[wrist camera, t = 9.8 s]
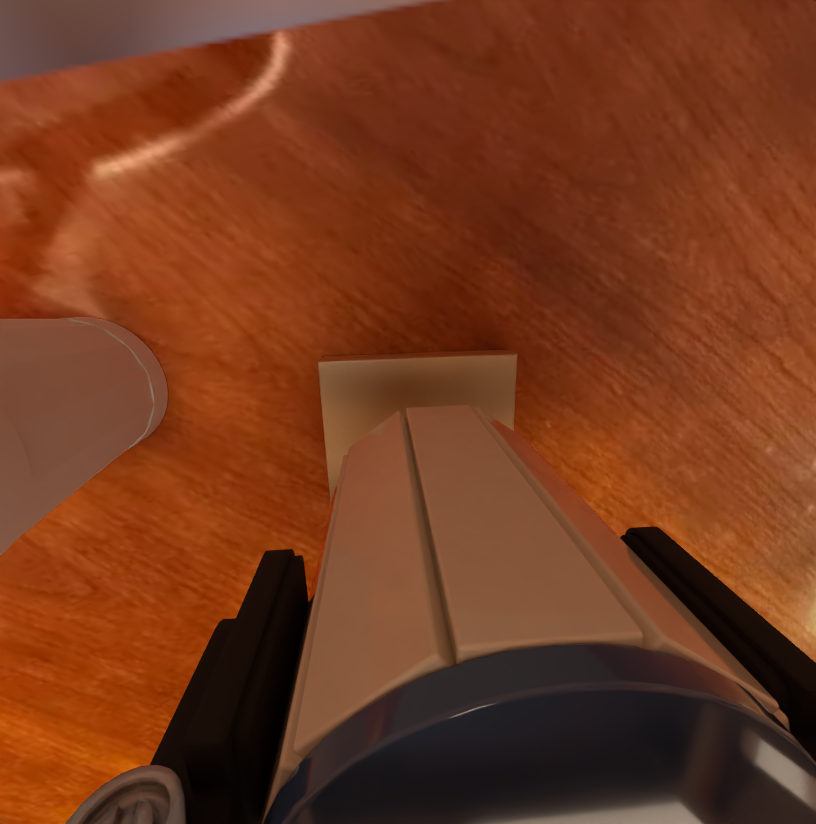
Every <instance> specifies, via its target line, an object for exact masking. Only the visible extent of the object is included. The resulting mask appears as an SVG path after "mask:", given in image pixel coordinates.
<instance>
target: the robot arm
mask: <svg viewBox="0 0 816 824" xmlns="http://www.w3.org/2000/svg"><path fill="white" fill-rule="evenodd" d="M620 538H621V539H622V540H623V542H624V543H625V544H626V545H627V546H628V547H629V548H630V549H631V550H632V551H633V552H634V553H635V554H636V555H637V556H638V557H639V558H640V559H641V560H642V561H643V562H644V563H645V564H646V566H647V567H648V568H649V569H650V570H651V571H652V572H653V573H654V574H655V575H656V576H657V577H658V578H659V579H660V580H661V581H662V582H663V583H664V584H665V585H666V586H667V587H668V588H669V590H670V591H671V592H672V593H673V594H674V595H675V596H676V597H677V598H678V599H679V600H680V601H681V602H682V603H683V604H684V605H685V606H686V607H687V608H688V609H689V610H690V611H691V612H692V614H693V615H694V616H695V617H696V618H697V619H698V620H699V621H700V622H701V623H702V624H703V625H704V626H705V627H706V628H707V629H708V630H709V631H710V632H711V633H712V634H713V635H714V636H715V637H716V639H717V640H718V641H719V642H720V643H721V644H722V645H723V646H724V647H725V648H726V649H727V650H728V651H729V652H730V653H731V654H732V655H733V656H734V657H735V658H736V659H737V660H738V661H739V663H740V664H741V665H742V666H743V667H744V668H745V669H746V670H747V671H748V672H749V673H750V674H751V675H752V676H753V677H754V678H755V679H756V680H757V681H758V682H759V683H760V684H761V685H762V687H763V688H764V689H765V690H766V691H767V692H768V693H769V694H770V695H771V696H772V697H773V698H774V699H775V700H776V701H777V703H778V705H779V709H780V710H781V711H782V712H783V713H784V714H785V715H786V717H787V718H788V720H789V726H790V732H791V734H792V735H793V736H794V737H795V738H796V739H797V740H798V741H799V742H800V743H801V745H802V746H803V747H804V748H805V749H806V750H807V751H808V752H809V753H810V755H811V756H812V757H813V758H814V759H815V761H816V663H815V662H814V661H813V660H812V659H810V658H809V657H808V656H807V655H806V654H805V653H803V652H802V651H801V650H800V649H799V648H798V647H796V646H795V645H794V644H793V643H792V642H791V641H790V640H788V639H787V638H786V637H785V636H784V635H783V634H781V633H780V632H779V631H778V630H777V629H776V628H774V627H773V626H772V625H771V624H770V623H769V622H767V621H766V620H765V619H764V618H763V617H762V616H761V615H759V614H758V613H757V612H756V611H755V610H754V609H752V608H751V607H750V606H749V605H748V604H747V603H745V602H744V601H743V600H742V599H741V598H740V597H739V596H737V595H736V594H735V593H734V592H733V591H732V590H730V589H729V588H728V587H727V586H726V585H725V584H723V583H722V582H721V581H720V580H719V579H718V578H716V577H715V576H714V575H713V574H712V573H711V572H710V571H708V570H707V569H706V568H705V567H704V566H703V565H701V564H700V563H699V562H698V561H697V560H696V559H694V558H693V557H692V556H691V555H690V554H689V553H687V552H686V551H685V550H684V549H683V548H682V547H681V546H679V545H678V544H677V543H676V542H675V541H674V540H672V539H671V538H670V537H669V536H668V535H667V534H665V533H664V532H663V531H662V530H661V529H659V528H658V527H638V528H630V529H628V530H627V531H626V534H625V535H622V536H621V537H620ZM307 607H308V594H307V586H306V577H305V569H304V561H303V557H302V555H301V556H295V555H294V551H293V550H292V549H286V550H270V551H266V552H265V553H264V555H263V557H262V559H261V562H260V564H259V566H258V569H257V571H256V573H255V576H254V578H253V580H252V583H251V585H250V587H249V589H248V592H247V594H246V596H245V599H244V601H243V603H242V606H241V608H240V610H239V613H238V615H237V617H236V618H235V619H223V620H222V621H220V622H219V624H218V625H217V627H216V628H215V630H214V632H213V635H212V637H211V639H210V641H209V643H208V645H207V647H206V649H205V651H204V653H203V655H202V657H201V660H200V662H199V664H198V666H197V668H196V670H195V672H194V674H193V676H192V678H191V680H190V682H189V685H188V687H187V689H186V691H185V693H184V695H183V697H182V699H181V701H180V703H179V705H178V707H177V710H176V712H175V714H174V716H173V718H172V720H171V722H170V724H169V726H168V728H167V730H166V732H165V735H164V737H163V739H162V741H161V743H160V745H159V747H158V749H157V751H156V753H155V755H154V757H153V759H152V762H151V764H150V765H149V766H140V767H137V768H135V769H132V770H129V771H127V772H124V773H122V774H120V775H118V776H117V777H115V778H114V779H112V780H110V781H109V782H107V783H106V784H104V785H102V786H101V787H100V788H99V789H98V790H97V791H95V792H94V793H93V794H92V795H91V796H90V797H89V798H87V799H86V800H85V801H84V802H83V803H82V804H81V805H80V807H79V808H78V809H77V810H76V811H75V813H74V814H73V815H72V816H71V817H70V818H69V820H68V821H67V822H66V823H65V824H259V820H260V815H261V811H262V807H263V802H264V798H265V794H266V789H267V785H268V780H269V776H270V771H271V767H272V762H273V758H274V754H275V749H276V745H277V740H278V736H279V731H280V727H281V722H282V718H283V713H284V709H285V705H286V700H287V696H288V691H289V687H290V682H291V678H292V673H293V669H294V665H295V660H296V656H297V651H298V647H299V642H300V638H301V633H302V629H303V625H304V620H305V616H306V611H307Z"/></svg>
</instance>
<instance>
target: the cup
mask: <svg viewBox="0 0 816 824" xmlns="http://www.w3.org/2000/svg"><path fill="white" fill-rule="evenodd" d="M167 402H168V388H167V382H166V378H165V375H164V372H163V369H162V367H161V365H160V363H159V361H158V360H157V358H156V357H155V355H154V354H153V352H152V351H151V350H150V349H149V347H148V346H147V345H146V344H145V343H144V342H143V341H142V340H140V339H139V338H138V337H137V336H136V335H134V334H133V333H132V332H130V331H128V330H127V329H125V328H123V327H121V326H119V325H117V324H115V323H113V322H110V321H107V320H103V319H99V318H94V317H70V318H60V319H0V556H1V555H2V554H3V553H4V552H5V551H6V550H7V549H8V548H9V547H10V546H11V545H12V544H13V543H14V541H16V540H17V539H18V538H19V537H21V536H22V535H23V534H24V533H25V532H27V531H28V530H29V529H30V528H32V527H33V526H34V525H35V524H36V523H38V522H39V521H40V520H41V519H43V518H44V517H45V516H46V515H47V514H49V513H50V512H51V511H52V510H54V509H55V508H56V507H57V506H59V505H60V504H61V503H62V502H63V501H65V500H66V499H67V498H68V497H70V496H71V495H72V494H73V493H74V492H76V491H77V490H78V489H79V488H81V487H82V486H83V485H84V484H85V483H87V482H88V481H89V480H90V479H92V478H93V477H94V476H95V475H96V474H98V473H99V472H100V471H101V470H103V469H104V468H105V467H106V466H108V465H109V464H110V463H111V462H112V461H114V460H115V459H116V458H117V457H119V456H120V455H121V454H122V453H123V452H125V451H126V450H128V449H130V448H131V447H133V446H134V445H136V444H137V443H139V442H140V441H142V440H143V439H145V438H146V437H148V436H149V435H150V434H151V433H152V432H153V431H154V430H155V429H156V428H157V427H158V426H159V424H160V422H161V421H162V419H163V417H164V414H165V411H166V408H167Z"/></svg>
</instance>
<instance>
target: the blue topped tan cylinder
mask: <svg viewBox="0 0 816 824" xmlns="http://www.w3.org/2000/svg"><path fill="white" fill-rule="evenodd" d="M259 824H816V761H815V759H814V758H813V757H812V756H811V755H810V753H809V752H808V751H807V750H806V749H805V748H804V747H803V746H802V745H801V743H800V742H799V741H798V740H797V739H796V738H795V737H794V736H793V735H792V734H791V732H790V726H789V720H788V718H787V717H786V715H785V714H784V713H783V712H782V711H781V710H780V709H779V705H778V703H777V701H776V700H775V699H774V698H773V697H772V696H771V695H770V694H769V693H768V692H767V691H766V690H765V689H764V688H763V687H762V685H761V684H760V683H759V682H758V681H757V680H756V679H755V678H754V677H753V676H752V675H751V674H750V673H749V672H748V671H747V670H746V669H745V668H744V667H743V666H742V665H741V664H740V663H739V661H738V660H737V659H736V658H735V657H734V656H733V655H732V654H731V653H730V652H729V651H728V650H727V649H726V648H725V647H724V646H723V645H722V644H721V643H720V642H719V641H718V640H717V639H716V637H715V636H714V635H713V634H712V633H711V632H710V631H709V630H708V629H707V628H706V627H705V626H704V625H703V624H702V623H701V622H700V621H699V620H698V619H697V618H696V617H695V616H694V615H693V614H692V612H691V611H690V610H689V609H688V608H687V607H686V606H685V605H684V604H683V603H682V602H681V601H680V600H679V599H678V598H677V597H676V596H675V595H674V594H673V593H672V592H671V591H670V590H669V588H668V587H667V586H666V585H665V584H664V583H663V582H662V581H661V580H660V579H659V578H658V577H657V576H656V575H655V574H654V573H653V572H652V571H651V570H650V569H649V568H648V567H647V566H646V564H645V563H644V562H643V561H642V560H641V559H640V558H639V557H638V556H637V555H636V554H635V553H634V552H633V551H632V550H631V549H630V548H629V547H628V546H627V545H626V544H625V543H624V542H623V540H622V539H621V538H620V537H619V536H618V535H617V534H616V533H615V532H614V531H613V530H612V529H611V528H610V527H609V526H608V525H607V524H606V523H605V522H604V521H603V520H602V519H601V518H600V516H599V515H598V514H597V513H596V512H595V511H594V510H593V509H592V508H591V507H590V506H589V505H588V504H587V503H586V502H585V501H584V500H583V499H582V498H581V497H580V496H579V495H578V494H577V493H576V491H575V490H574V489H573V488H572V487H571V486H570V485H569V484H568V483H567V482H566V481H565V480H564V479H563V478H562V477H561V476H560V475H559V474H558V473H557V472H556V471H555V470H554V469H553V467H552V466H551V465H550V464H549V463H548V462H547V461H546V460H545V459H544V458H543V457H542V456H541V455H540V454H539V453H538V452H537V451H536V450H535V449H534V448H533V447H532V446H531V445H530V443H529V442H528V441H527V440H526V439H525V438H523V437H522V436H520V435H519V434H517V433H516V432H514V431H513V430H511V429H510V428H508V427H507V426H505V425H504V424H502V423H501V422H499V421H498V420H496V419H495V418H493V417H492V416H490V415H489V414H487V413H486V412H484V411H483V410H481V409H480V408H476V409H475V410H473V409H472V408H471V406H470V405H457V406H434V407H412V408H406V419H405V417H404V416H403V415H402V414H401V412H399V411H397V412H396V413H394V414H393V415H392V416H390V417H389V418H388V419H386V420H385V421H384V422H383V423H381V424H380V425H379V426H377V427H376V428H375V429H373V430H372V431H371V432H369V433H368V434H367V435H365V436H364V437H363V438H361V439H360V440H359V441H358V442H356V443H355V444H354V445H352V446H351V447H350V448H349V451H348V455H344V457H343V460H342V464H341V468H340V472H339V475H338V479H337V483H336V486H335V490H334V494H333V497H332V501H331V505H330V509H329V513H328V518H327V522H326V526H325V531H324V535H323V540H322V544H321V549H320V553H319V558H318V562H317V566H316V571H315V575H314V580H313V584H312V589H311V593H310V598H309V602H308V607H307V611H306V616H305V620H304V625H303V629H302V633H301V638H300V642H299V647H298V651H297V656H296V660H295V665H294V669H293V673H292V678H291V682H290V687H289V691H288V696H287V700H286V705H285V709H284V713H283V718H282V722H281V727H280V731H279V736H278V740H277V745H276V749H275V754H274V758H273V762H272V767H271V771H270V776H269V780H268V785H267V789H266V794H265V798H264V802H263V807H262V811H261V815H260V820H259Z"/></svg>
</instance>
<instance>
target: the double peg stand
mask: <svg viewBox="0 0 816 824" xmlns="http://www.w3.org/2000/svg"><path fill="white" fill-rule="evenodd" d="M317 364H318V374H319V385H320V396H321V407H322V418H323V429H324V440H325V451H326V462H327V472H328V483H329V494H330V505H331V501H332V497H333V494H334V490H335V486H336V483H337V479H338V475H339V472H340V468H341V464H342V460H343V457H344V455H348V451H349V448H350V447H351V446H352V445H354V444H355V443H356V442H358V441H359V440H360V439H361V438H363V437H364V436H365V435H367V434H368V433H369V432H371V431H372V430H373V429H375V428H376V427H377V426H379V425H380V424H381V423H383V422H384V421H385V420H386V419H388V418H389V417H390V416H392V415H393V414H394V413H396V412H397V411H399V412H401V414H402V415H403V416H404V417H405V419H406V408H412V407H434V406H457V405H470V406H471V408H472V409H473V410H475V409H476V408H480V409H481V410H483V411H484V412H486V413H487V414H489V415H490V416H492V417H493V418H495V419H496V420H498V421H499V422H501V423H502V424H504V425H505V426H507V427H508V428H510V429H511V430H513V431H514V411H515V391H516V371H517V354H515V353H513V352H511V351H509V350H507V349H505V350H478V351H451V352H424V353H397V354H370V355H343V356H322V357H321V358H320V360H319V361H318V363H317Z"/></svg>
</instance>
